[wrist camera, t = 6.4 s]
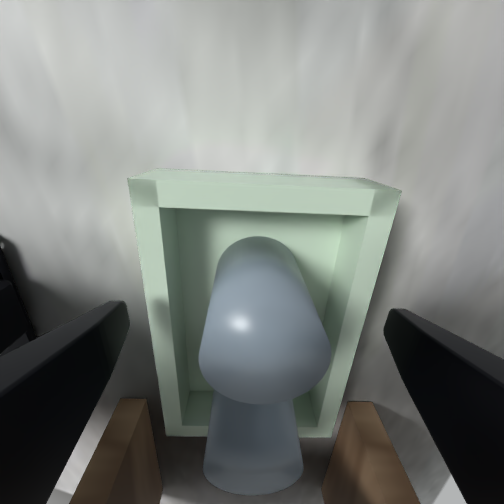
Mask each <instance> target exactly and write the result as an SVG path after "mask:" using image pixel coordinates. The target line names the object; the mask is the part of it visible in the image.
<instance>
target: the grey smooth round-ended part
mask: <svg viewBox="0 0 504 504" xmlns="http://www.w3.org/2000/svg"><path fill="white" fill-rule="evenodd" d="M303 468H304V467H303V460H302V454H301V448H300V442H299V436H298V430H297V424H296V418H295V412H294V406H293V400H292V399H291V400H288V401H285V402H280V403H274V404H262V405H261V404H249V403H243V402H239V401H236V400H233V399H230V398H228V397H226V396H224V395H222V394H220V393H219V392H217V391H216V390H215V389H214V391H213V399H212V406H211V413H210V420H209V428H208V435H207V442H206V449H205V457H204V464H203V473H204V475H205V477H206V479H207V480H208V481H209V482H210V483H211V484H212V485H214V486H215V487H217V488H219V489H221V490H223V491H226V492H230V493H233V494H239V495H265V494H270V493H275V492H278V491H281V490H283V489H286V488H287V487H289V486H291V485H292V484H294V483H295V482H296V481H297V480H298V479H299V478H300V476H301V475H302V472H303Z"/></svg>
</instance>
